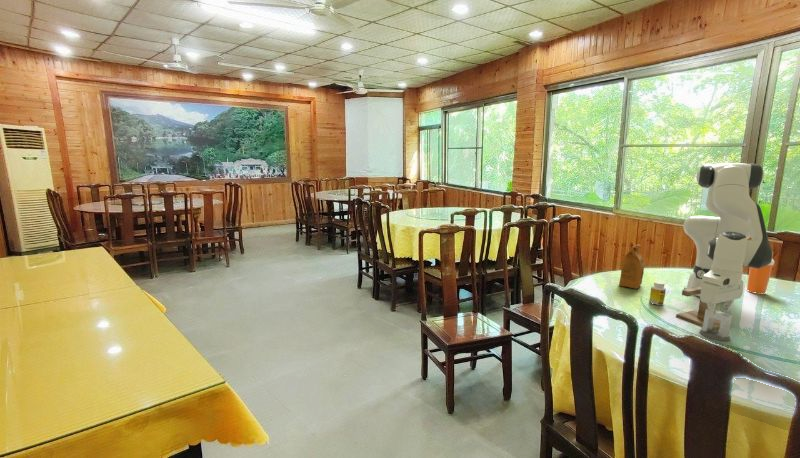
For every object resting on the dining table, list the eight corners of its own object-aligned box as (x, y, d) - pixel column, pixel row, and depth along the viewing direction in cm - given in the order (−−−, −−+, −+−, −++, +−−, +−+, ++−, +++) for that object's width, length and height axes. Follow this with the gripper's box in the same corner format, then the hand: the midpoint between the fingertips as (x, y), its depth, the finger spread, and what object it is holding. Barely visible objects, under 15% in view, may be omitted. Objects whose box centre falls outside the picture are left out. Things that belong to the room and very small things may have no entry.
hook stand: (693, 312, 168) (699, 276, 165) (730, 325, 156) (738, 286, 153) (661, 319, 160) (667, 281, 157) (698, 334, 147) (705, 293, 144)
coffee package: (645, 286, 204) (651, 245, 200) (637, 291, 195) (643, 248, 191) (624, 281, 211) (629, 241, 207) (615, 285, 203) (621, 245, 199)
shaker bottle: (748, 293, 197) (756, 255, 193) (741, 288, 205) (748, 251, 201) (771, 296, 193) (779, 257, 190) (762, 290, 201) (770, 253, 198)
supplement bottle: (659, 307, 174) (663, 285, 172) (646, 303, 179) (649, 281, 177) (665, 304, 177) (669, 283, 176) (652, 300, 182) (655, 280, 180)
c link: (707, 329, 150) (711, 308, 149) (728, 337, 144) (732, 315, 142) (701, 331, 149) (705, 309, 147) (722, 339, 142) (727, 316, 141)
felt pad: (708, 329, 152) (708, 327, 152) (735, 339, 144) (735, 337, 144) (694, 332, 149) (694, 331, 149) (720, 343, 141) (721, 341, 140)
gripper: (731, 271, 149) (725, 305, 152) (699, 276, 141) (693, 312, 144) (751, 275, 144) (744, 311, 146) (719, 282, 135) (712, 319, 138)
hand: (718, 311), depth 145 cm, fingers open, 8 cm apart
